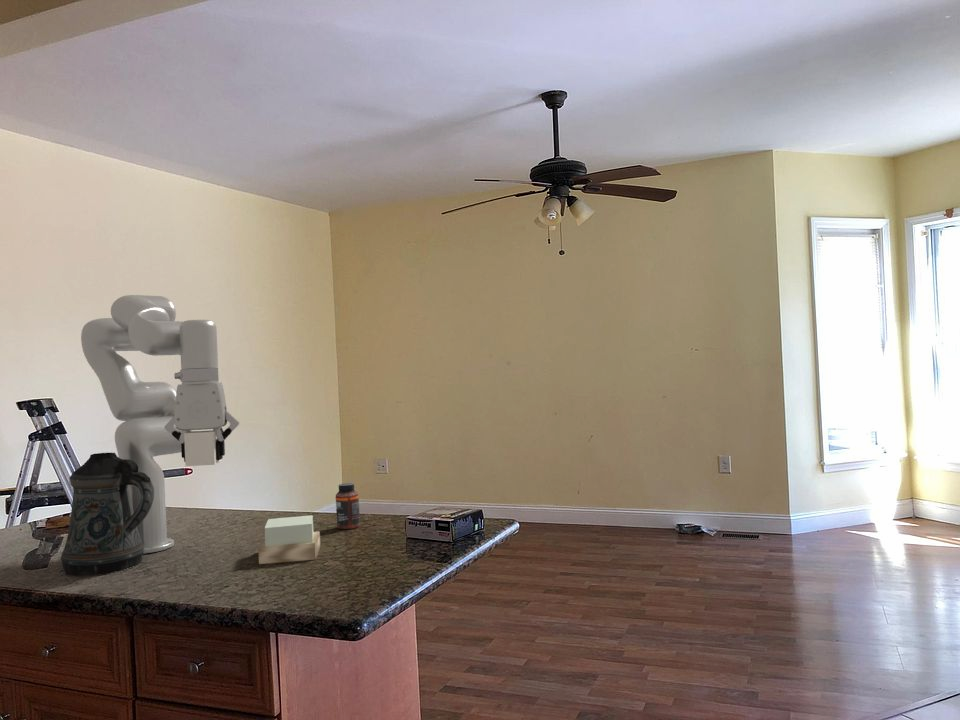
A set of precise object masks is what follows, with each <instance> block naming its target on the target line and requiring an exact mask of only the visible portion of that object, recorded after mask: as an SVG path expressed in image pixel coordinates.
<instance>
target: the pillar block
mask: <svg viewBox="0 0 960 720" xmlns="http://www.w3.org/2000/svg"><path fill="white" fill-rule="evenodd" d="M184 442H185V462H184V463H185V464H184V465H185V467H196V466H212V465H213V466H215V465H217V464H218V463H220V462H222V459H221V460H217V459H216V442H217V437H216V435H215V431H214V430H213V429H206V430H191V432H188V433H184Z"/></svg>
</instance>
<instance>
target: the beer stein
mask: <svg viewBox="0 0 960 720" xmlns="http://www.w3.org/2000/svg"><path fill="white" fill-rule="evenodd" d="M69 482H70V485H71V487H72V488H73V489H72V490H73V491H72V492H73V493H72V494H73V495H72V502H71V512H70V520H69V525H68V531H67V537H66V541H65V545H64V548H63V551H62V552H61V554H60V560H61V564H62V569H63V570H62V571H63V572H64V573H65V575H66V576H71V577H72V576H73V577H90V576H91V577H92V576H98V575H99V576H100V574H101V575H107V574H106V573H108V574H112V573H111V572H113V573H116V572H115V571H117V572H121V570H122V571H125V570H127V568H128V569H130V567H131V568H134V567H136V566H138V565H140V564H141V563H142V561H143V557H144V554H143V552H144V545H143V543H142V541H141V539H140V536H139V533H138V530H137V526H138V525H139V524H140V523H141V522H142V521H143V519H144V518H145V517H146V515H147V514H148V512H149V510H150V508H151V506H152V503H153V500H154V487H153V484H152V482H151V480H150V478H149V477H148V476H147V475H146V474H145V473H143V472H138V465H137V464H136V463H135V462H134V461H133V460H127V459H120V458H119V457H118V454H116V452H100V453H99V452H98V453H93V454H90V455H89V458H88V459H87V460H86V461H85V462H84V463H83V464H82V465H81V466H79V467H78V468H77V469H75V471H74V472H72V473H71V475H70V476H69ZM129 485H135V486H136V487H138V488H139V490H140V493H141V501H140V504H139V506H138V508H137V510H136V511H135V512H133V506H132V501H131V496H130V492H129ZM139 563H140V564H139ZM137 564H138V565H137ZM133 566H134V567H133ZM124 569H125V570H124Z"/></svg>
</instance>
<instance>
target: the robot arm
mask: <svg viewBox="0 0 960 720" xmlns="http://www.w3.org/2000/svg"><path fill="white" fill-rule="evenodd" d="M176 312H177V311H176V307H175V306H174V303H173V302H172V300H171V299H169V298H168V297H165V296H161V295H144V294H143V295H141V294H129V295H128V294H127V295H123V296H120V297H118V298H117V299H115V300H114V301H113V302H112V303H111V306H110V316H111V317H103V318H96V319H92V320H90V321H88V322H86V323H85V324H84V325H83V327H82V330H81V334H80V339H81V340H80V341H81V343H80V344H81V348H82V352H83V354H84V357H85V359H86V361H87V363H88V365H89V366H90V367H91V369H92V370H93V372H94V373H95V375H96V376H97V377H98V378H97V379H98V380H99V383H100V385H101V388H102V391H103V394H104V396H105V398H106V402H107V405H108V407H109V410H110V411H111V414H112V416H113V417H114V418H115V419H116V420H118V421H121V422H122V423H120V424H119V425H118V426H117V427H116V429H115V432H114V443H115V448H116V452H117V457H119V458H120V459H127V460H133V461H134V462H135V463H136V464H137V465H138V472H143V473H145V474H146V475H147V476H148V477H149V478H150V480H151V482H152V484H153V487H154V500H153V503H152V506H151V508H150V510H149V512H148V514H147V515H146V517H145V518H144V519H143V521H142V522H141V523H140V524H139V525H138V526H137V530H138V533H139V536H140V539H141V541H142V543H143V545H144V552H143V555H144V554H151V553H157V552H160V551H161V552H162V551H164V550H168V549H170V548H173V546H174V545H175V540H174V539H173V538H169V537H168V533H167V532H168V529H167V527H168V526H167V509H166V507H167V505H166V486H165V474H164V472H163V469H162V467H160V465H159V464H158V463H157V462H156V461H155V459H154V457H158V456H166V455H174V454H180V453H181V458H182V459H183V462H184V463H185V442H184V433H188V432H191V431H198V430H214V431H215V435H216V437H217V442H216V459H217V460H221V461H222V460H223V456H225V455H226V447H225V440H226V439H227V438H228V437H229V436H230V435H231V434H232V433H233V432H234V430H236V429H237V427H238V426H239V425H240V422H239V421H238V420H237V418H235V417H234V416H233V415H232V414H231V413H230V412H228V410H227V409H228V408H227V402H226V401H227V400H226V394H225V390H224V389H225V388H224V385H223V382H220V381H219V379H220V378H219V376H220V375H219V357H218V355H219V354H218V335H217V334H218V332H217V325H216V323H215V321H213V320H210V319H209V320H208V319H190V320H189V319H188V320H184V321H179V320H177V321H176V317H177V316H176V315H177V313H176ZM138 351H139V352H141V353H143V354H146V355H149V356H155V357H156V356H180V369H179V372H175V373H174V374H173V375H174V379H175V380H179V381H180V382H181V384H180V383H179V384H177V386H176V389H175V387H173V386H172V385H171V384H170V383H168V382H165V381H148V382H147V381H142V380H140V378H139V376H138V373H137V371H136V368H135V367H134V366H133V365H132V363H130V361H128V360H127V359H126V358H124V357H123V356H121V355H120V354H118V353H117V352H138ZM228 423H229V425H228V426H227V424H228ZM225 426H227V428H225V429H223V427H225ZM129 492H130V496H131V501H132V506H133V512H135V511H136V510H137V508H138V506H139V504H140V501H141V493H140V490H139V488H138V487H136V486H135V485H129Z"/></svg>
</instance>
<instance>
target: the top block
mask: <svg viewBox="0 0 960 720" xmlns="http://www.w3.org/2000/svg"><path fill="white" fill-rule="evenodd" d="M313 532H314V515H312V514H311V515H301V516H288V517H278V518H268V519H267V522H266V524H265V526H264V539H265V546H276V545H287V544H297V543H307V542H313Z"/></svg>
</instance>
